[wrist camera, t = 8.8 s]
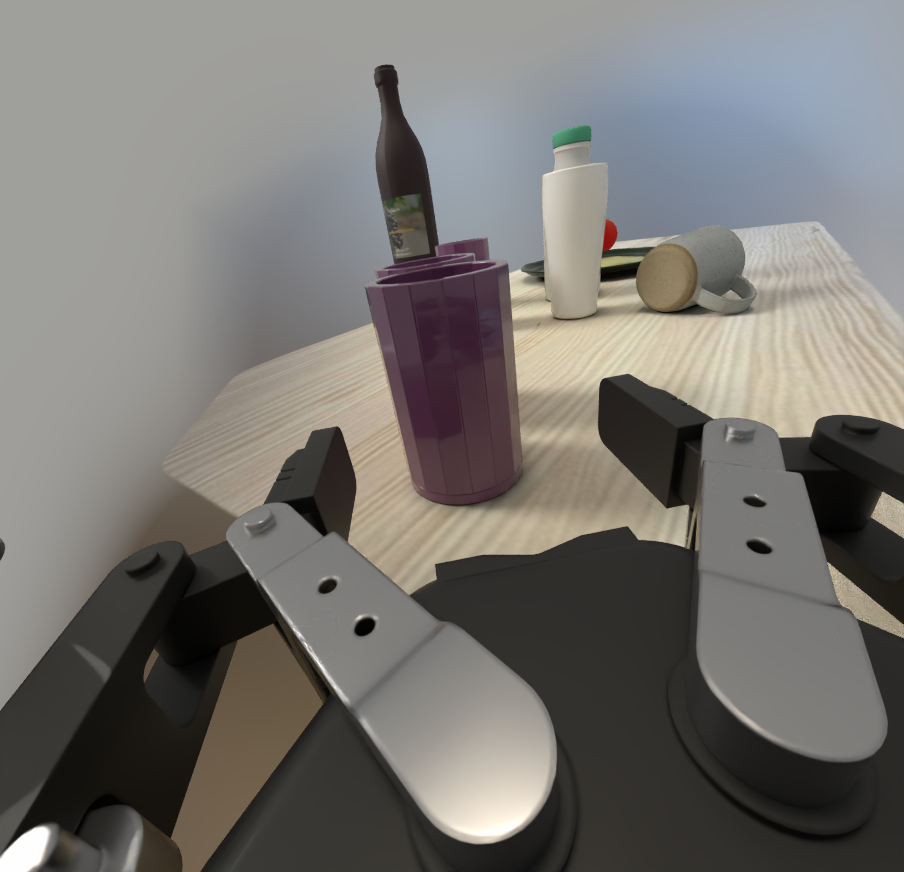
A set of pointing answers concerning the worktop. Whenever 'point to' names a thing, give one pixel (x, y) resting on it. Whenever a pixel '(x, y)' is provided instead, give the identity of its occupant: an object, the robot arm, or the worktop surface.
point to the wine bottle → (403, 177)
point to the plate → (602, 261)
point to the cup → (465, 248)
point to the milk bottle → (568, 153)
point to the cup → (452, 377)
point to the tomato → (609, 235)
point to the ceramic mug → (696, 272)
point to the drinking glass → (574, 236)
